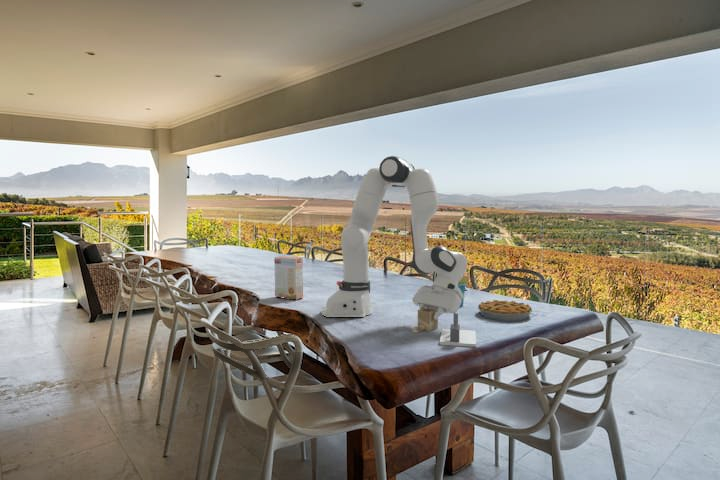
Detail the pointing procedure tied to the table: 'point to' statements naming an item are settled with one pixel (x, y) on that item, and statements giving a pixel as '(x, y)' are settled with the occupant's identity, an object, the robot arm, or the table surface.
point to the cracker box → (288, 277)
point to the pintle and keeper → (454, 329)
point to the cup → (462, 286)
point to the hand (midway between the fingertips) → (426, 317)
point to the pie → (505, 310)
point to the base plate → (465, 338)
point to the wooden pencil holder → (426, 320)
